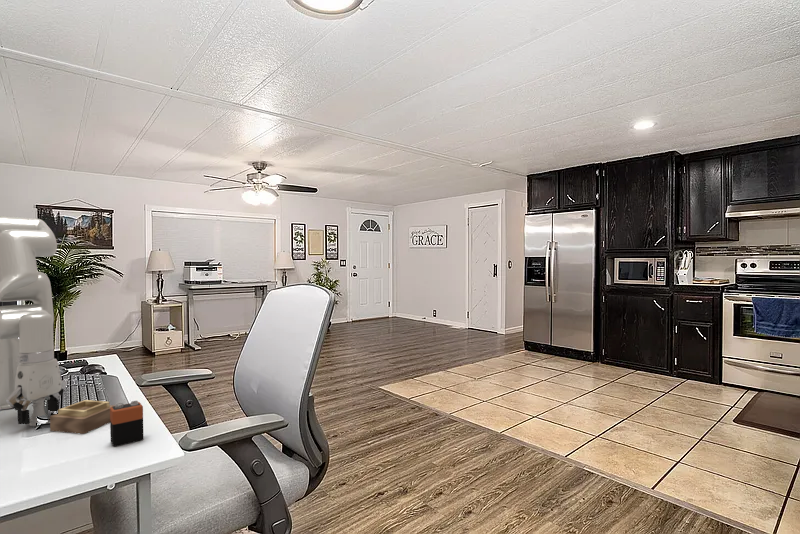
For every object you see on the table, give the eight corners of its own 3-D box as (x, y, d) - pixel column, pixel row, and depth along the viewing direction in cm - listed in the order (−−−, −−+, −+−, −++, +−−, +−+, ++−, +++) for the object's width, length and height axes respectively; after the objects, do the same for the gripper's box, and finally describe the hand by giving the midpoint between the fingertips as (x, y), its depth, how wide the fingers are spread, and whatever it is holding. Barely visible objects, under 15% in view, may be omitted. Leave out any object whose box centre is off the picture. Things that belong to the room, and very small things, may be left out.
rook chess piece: (45, 419, 132) (45, 392, 132) (51, 423, 130) (50, 395, 130) (26, 424, 129) (25, 396, 128) (31, 428, 126) (31, 399, 126)
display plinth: (50, 430, 124) (49, 410, 124) (85, 416, 135) (85, 398, 135) (83, 434, 122) (83, 413, 122) (117, 419, 133) (117, 400, 132)
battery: (110, 442, 117) (109, 403, 116) (140, 435, 121) (139, 397, 121) (113, 447, 113) (112, 407, 113) (143, 440, 118) (143, 401, 118)
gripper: (16, 365, 119) (18, 431, 120) (76, 351, 136) (77, 409, 137) (-7, 363, 121) (-5, 429, 121) (55, 350, 138) (57, 407, 138)
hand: (38, 418), depth 129 cm, fingers open, 7 cm apart
